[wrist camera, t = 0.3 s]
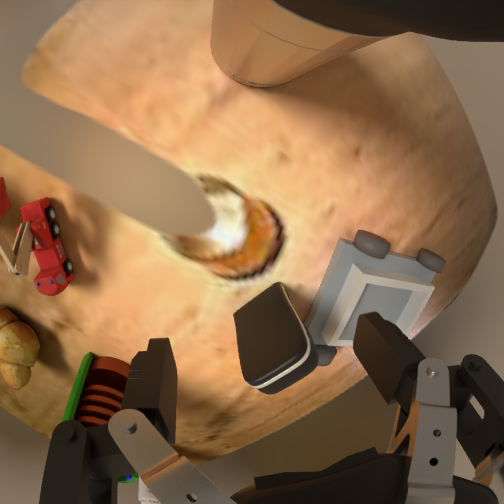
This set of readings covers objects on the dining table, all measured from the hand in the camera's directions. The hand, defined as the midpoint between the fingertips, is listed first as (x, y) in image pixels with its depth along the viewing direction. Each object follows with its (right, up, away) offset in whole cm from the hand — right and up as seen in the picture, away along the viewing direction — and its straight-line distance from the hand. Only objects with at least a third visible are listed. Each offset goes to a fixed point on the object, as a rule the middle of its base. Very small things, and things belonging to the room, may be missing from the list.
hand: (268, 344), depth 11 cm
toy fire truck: (-23, +7, +14) cm, 28 cm away
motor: (-21, -14, +24) cm, 35 cm away
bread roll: (-36, -7, +18) cm, 41 cm away
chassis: (+15, -2, +24) cm, 29 cm away
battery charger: (+1, -2, +22) cm, 22 cm away
